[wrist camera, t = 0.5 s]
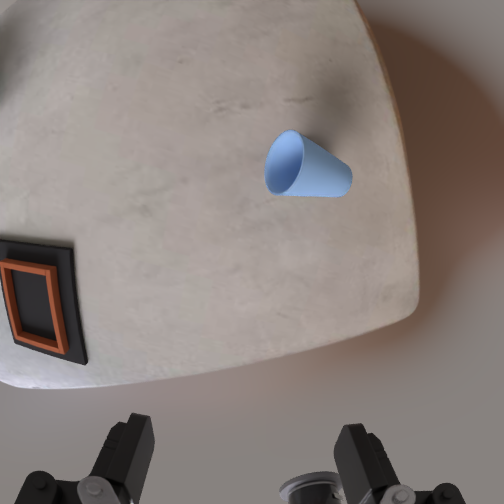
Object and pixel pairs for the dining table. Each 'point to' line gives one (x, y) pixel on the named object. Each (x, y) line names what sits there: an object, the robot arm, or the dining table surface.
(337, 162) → the spotlight
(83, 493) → the robot arm
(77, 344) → the pad
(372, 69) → the dining table surface
